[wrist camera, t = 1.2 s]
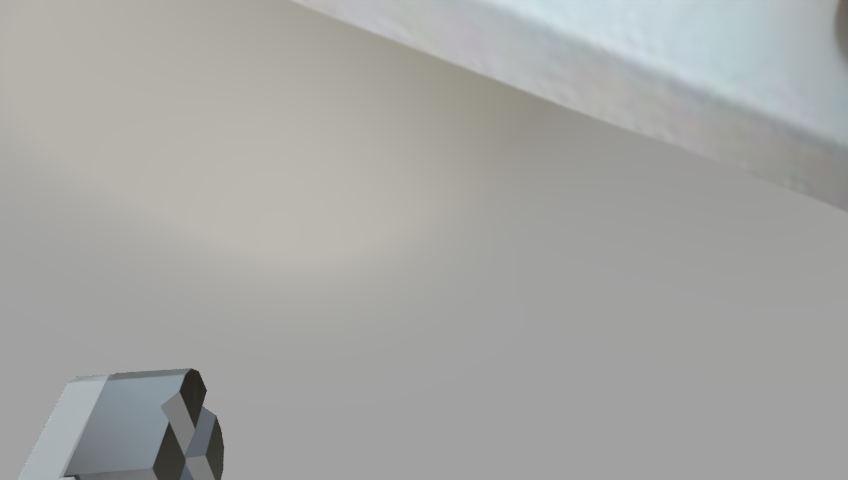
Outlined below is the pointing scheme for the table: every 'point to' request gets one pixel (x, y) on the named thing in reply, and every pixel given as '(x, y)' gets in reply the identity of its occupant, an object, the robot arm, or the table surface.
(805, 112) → the table surface
